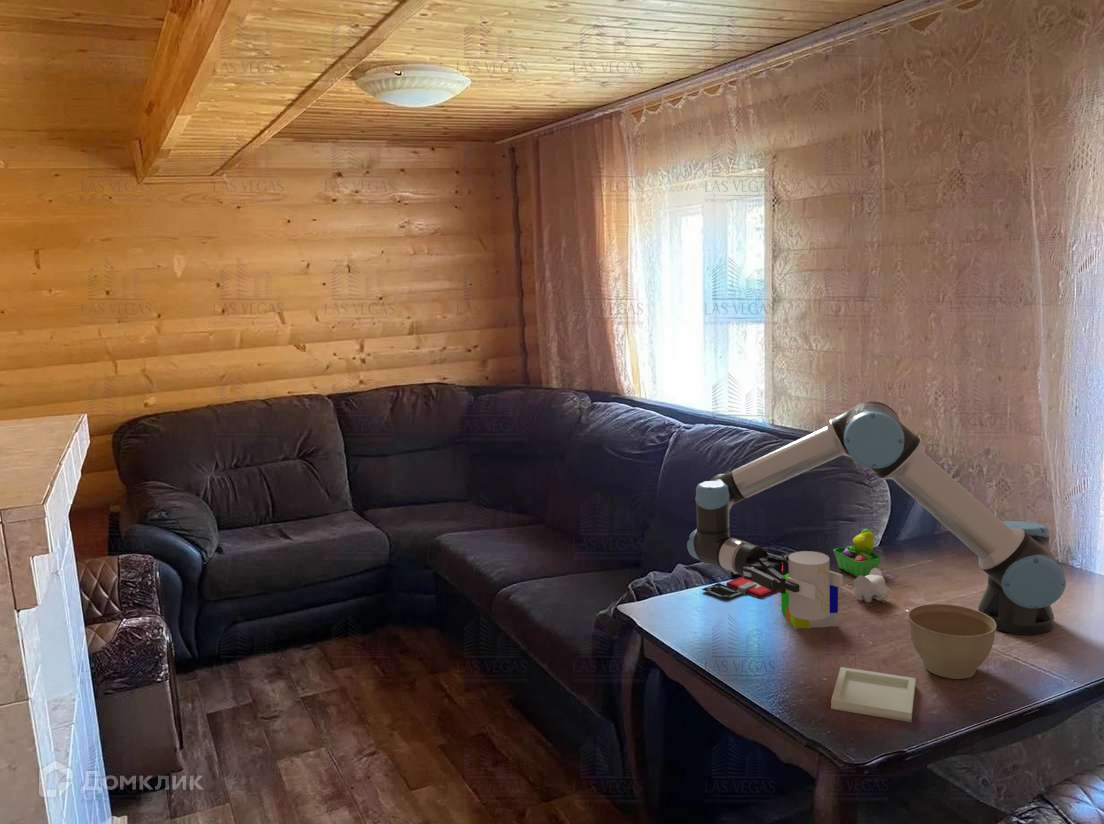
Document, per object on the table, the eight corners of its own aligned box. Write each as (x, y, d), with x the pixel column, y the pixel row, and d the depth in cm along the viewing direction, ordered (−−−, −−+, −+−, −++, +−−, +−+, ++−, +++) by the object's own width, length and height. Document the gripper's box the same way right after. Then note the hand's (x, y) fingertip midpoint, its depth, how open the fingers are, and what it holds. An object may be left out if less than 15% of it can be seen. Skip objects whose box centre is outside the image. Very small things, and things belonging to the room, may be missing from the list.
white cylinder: (823, 622, 174) (823, 566, 172) (784, 616, 178) (783, 561, 176) (833, 608, 181) (833, 554, 179) (795, 602, 185) (794, 549, 183)
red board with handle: (696, 590, 222) (740, 608, 210) (696, 580, 221) (741, 597, 210) (770, 563, 240) (815, 578, 228) (770, 553, 239) (816, 568, 227)
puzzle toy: (837, 626, 196) (838, 585, 195) (794, 629, 196) (794, 588, 194) (822, 609, 206) (822, 569, 205) (781, 611, 206) (781, 572, 204)
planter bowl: (1006, 689, 165) (1008, 637, 163) (917, 687, 168) (918, 635, 166) (979, 652, 180) (981, 603, 178) (899, 650, 183) (900, 602, 181)
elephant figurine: (882, 609, 204) (882, 581, 203) (845, 599, 211) (845, 571, 210) (897, 600, 209) (898, 572, 208) (861, 590, 216) (861, 563, 215)
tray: (915, 686, 168) (915, 678, 167) (911, 722, 155) (911, 713, 155) (840, 675, 174) (840, 667, 173) (831, 708, 161) (831, 699, 161)
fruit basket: (831, 566, 233) (831, 527, 231) (859, 561, 236) (859, 522, 234) (858, 580, 222) (858, 539, 220) (886, 575, 225) (887, 534, 223)
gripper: (776, 563, 199) (859, 590, 181) (711, 586, 188) (793, 618, 169) (775, 532, 198) (860, 557, 179) (710, 553, 186) (793, 582, 168)
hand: (827, 586), depth 174 cm, fingers closed on white cylinder, 8 cm apart
